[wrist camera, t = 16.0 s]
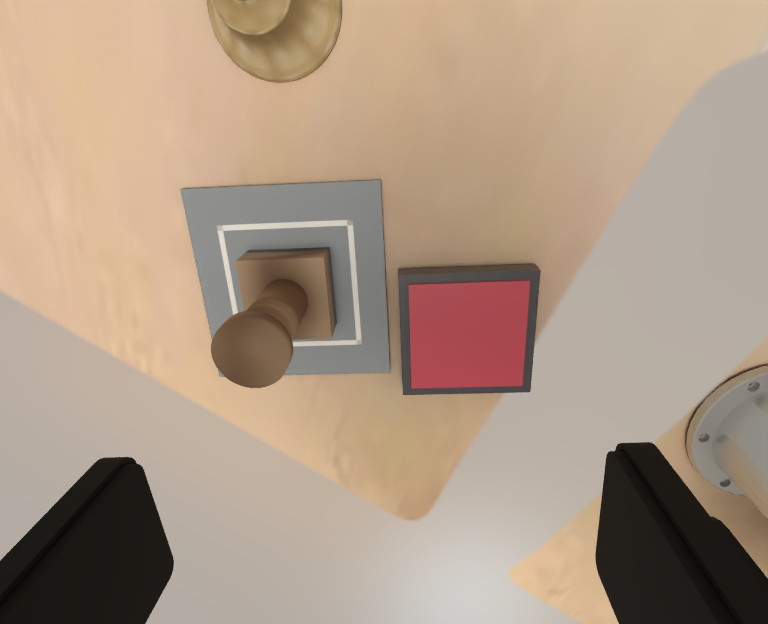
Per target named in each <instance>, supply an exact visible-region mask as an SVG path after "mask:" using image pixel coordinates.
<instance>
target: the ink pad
mask: <svg viewBox="0 0 768 624" xmlns="http://www.w3.org/2000/svg"><path fill="white" fill-rule="evenodd" d="M398 277H399V303H400V329H401V355H402V382H403V395H424V394H468V393H511V392H530V389H531V377H532V365H533V353H534V341H535V329H536V317H537V305H538V293H539V281H540V269H539V268H538V267H537V266H536V265H535V264H511V265H484V266H456V267H429V268H401V269H399V271H398Z"/></svg>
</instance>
